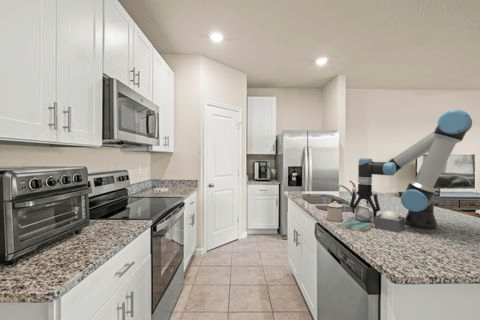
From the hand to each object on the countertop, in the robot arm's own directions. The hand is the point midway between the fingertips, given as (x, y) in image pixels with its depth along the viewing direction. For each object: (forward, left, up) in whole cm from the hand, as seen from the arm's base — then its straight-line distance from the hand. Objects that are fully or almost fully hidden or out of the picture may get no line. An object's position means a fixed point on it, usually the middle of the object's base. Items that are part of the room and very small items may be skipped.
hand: (364, 220), depth 154 cm
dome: (-15, +6, +1) cm, 16 cm away
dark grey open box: (-15, +6, 0) cm, 16 cm away
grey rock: (0, 0, 0) cm, 0 cm away
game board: (-1, +17, 0) cm, 17 cm away
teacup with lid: (+15, +10, 0) cm, 18 cm away
